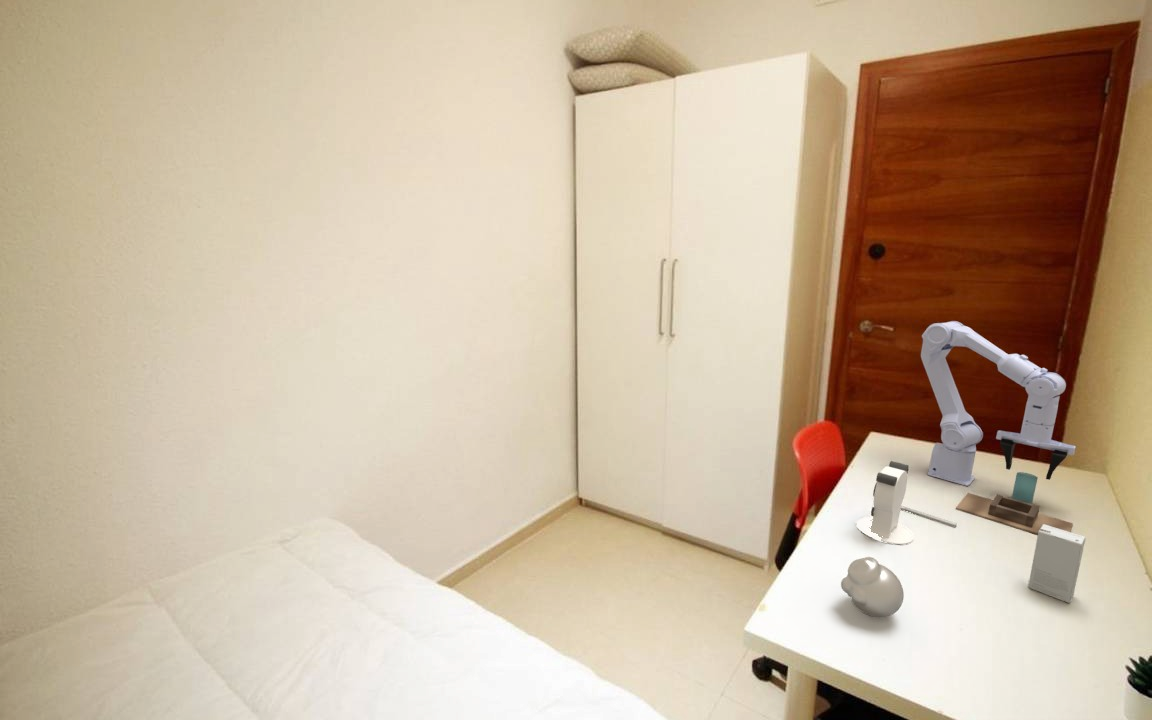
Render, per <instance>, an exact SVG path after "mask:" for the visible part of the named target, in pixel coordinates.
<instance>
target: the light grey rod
mask: <svg viewBox="0 0 1152 720" xmlns="http://www.w3.org/2000/svg"><path fill="white" fill-rule="evenodd" d="M903 510H905V511H904V512H906V511H908V512H907V513H909V512H911V513H910V514H912V513H913V514H912V515H915V514H916V515H915V516H917V517H921V518H924V519H927V520H930V521H934V522H935V523H940V524H942V525H945V526H949V527H952V528H954V529H955V528H956V527H957V522H953V521H950V520H949V519H945V518H941V517H939V516H935V515H932V514H929V513H926V512H922V511H919V510H916V509H913V508H910V507H907V506H903V505H901V510H900V511H903Z"/></svg>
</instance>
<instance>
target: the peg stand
mask: <svg viewBox="0 0 1152 720" xmlns="http://www.w3.org/2000/svg"><path fill="white" fill-rule="evenodd" d="M955 510H957V511H960V512H962V513H963V512H964V513H966V514H970V515H973V516H976V517H980V518H982V519H986V520H989V521H992V522H995V523H999V524H1002V525H1005V526H1008V527H1010V528H1014V529H1017V530H1021V531H1024V532H1028V533H1030V534H1033V535H1036V536H1038V531H1039V530H1040V528H1041V527H1042V525H1043V524H1045V525H1048V526H1051V527H1055V528H1058V529H1061V530H1064V531H1068V532H1072V531H1071V530H1072V528H1073V522H1070V521H1066V520H1063V519H1060V518H1056V517H1053V516H1049V515H1047V514H1042V513H1040V512H1039V511H1040V505H1037V504H1034V503H1032V504H1030V503H1027V502H1023V501H1020V500H1016V499H1013V498H1012V497H1008V496H1006V495H1001V494H998V493H997V494H996V495H995V497H994V498H993V499H991V498H987V497H984V496H980V495H978V494H974V493H970V492H967V493H966V494H965V496H963V498H962V499H961V500H960V502H959V503H958V504H957V505H956V507H955Z"/></svg>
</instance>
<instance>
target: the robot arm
mask: <svg viewBox="0 0 1152 720" xmlns="http://www.w3.org/2000/svg"><path fill="white" fill-rule="evenodd" d="M925 329H926V330H924V332H923V333H922V335H921V338H922V345H921V350H920V351H921V352H920V358H921V361H922V364H923V367H924V369H925V373H926V374H927V377H928V380H929V383H930V386H931V388H932V391H933V393H934V394H933V395H934V396H935V399H936V402H937V404H938V407H939V410H940V413H941V415H942V416H941V417H942V418H941V421H940V424H939V426H940V429H941V434H940V439H941V442H942V443H941V442H936V443H934V445H933V448H932V451H931V457H930V461H929V462H930V463H929V467H928V468H929V469H928V472H927V475H928V476H930V477H934V478H938V479H941V480H945V481H948V482H952V483H955V484H959V485H963V486H966V487H969V486H970V484H971V483H972V482H973V481H974V480H975V479H976V476H974V475H973V469H974V463H975V457H976V453H977V447H976V445H977V444H979V443H980V442H981V441H982V439H983V437H984V432H983V431H982V429H981V427H980V426H979V425H978V424H977V423H976V422H975V420H974V417H973V416H972V415H970V414H969V413H968V412H967V411H966V409H965V407H964V404H963V400H962V398H961V396H960V393H959V390H958V387H957V386H956V383H955V380H954V377H953V374H952V372H951V370H950V367H949V364H948V362H947V359H946V358H947V356H948V355H949V353H950V352H951V350H952V349H953V348H954V347H964V348H965V347H966V348H968V349H970V350H972V351H973V352H974V353H975V352H976V353H977V354H979V355H980V356H982V357H984V358H986V359H988V360H989V361H991V362H993V363H995V364H996V365H997V371H998V372H1000V373H1001V374H1003V376H1006V377H1007V378H1009V379H1010V380H1011V381H1014V382H1015V383H1016V384H1019V385H1020V386H1021V387H1023V388H1025V391H1026V393H1027V396H1028V397H1027V401H1026V404H1025V410H1024V415H1023V420H1022V424H1021V430H1020V433H1019V432H1012V431H1005V430H997V432H996V437H995V439H996V440H1000V442H999V443H1000V447H1001V450H1002V452H1003V455H1004V459H1005V469H1006V470H1009V471H1010V469H1012V463H1013V456H1014V451H1015V446H1016V444H1022V445H1026V446H1030V447H1031V446H1032V447H1036V448H1038V449H1039V448H1040V449H1043V450H1044V449H1045V450H1049V451H1052V453H1051V455H1050V456H1051V457H1050V462H1049V465H1048V466H1049V467H1048V470H1047V473H1046V476H1045V480H1051V479H1052V475H1053V473H1054V472H1055V470H1056V469H1057V467H1058V466H1060V464H1061V463H1062V462H1063V461H1064V460H1066V458H1067V456H1068V455H1069V456H1074V455H1075V451H1076V447H1077V446H1075V445H1073V444H1068V443H1064V442H1061V441H1057V440H1053V439H1052V438H1053V433H1054V427H1055V423H1056V418H1057V414H1058V409H1059V408H1058V407H1059V401H1060V397H1061V396H1060V395H1061V394H1063V393H1064V392H1065V390H1066V387H1067V383H1066V380H1065V378H1063V377H1062V376H1061V375H1060V374H1058V373H1056V372H1050V371H1048V369H1047V368H1045V367H1042V368H1041V367H1040V366H1038V365H1037V364H1035V363H1034V362H1032V361H1030V360H1029V357H1028V355H1025V354H1021V355H1020V354H1018V353H1010V354H1008V353H1006V352H1005V351H1004V350H1003V349H1001V348H999V347H998V346H996V345H995V344H993V343H992V342H990V341H989V340H987V339H986V338H984V337H983V336H982V335H980V334H979V333H978V332H976V331H974V330H973V328H971V327H969V326H966V325H964V324H963V323H961V322H959V321H956V320H951V321H947V322H937V323H931V324H930V325H929V326H928V327H927V328H925Z"/></svg>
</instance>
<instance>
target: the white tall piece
mask: <svg viewBox="0 0 1152 720" xmlns="http://www.w3.org/2000/svg"><path fill="white" fill-rule="evenodd" d="M909 468H910V467H909V464H904V463H901V462H897V461H892V460H890V461H889V464H888V465H887V466H886V465H885V467H883V469H881V471H880V472H877V474H876V478H875V479H876V480H875V481H876V482H875V483H874V489H873V506H872V507H871V511H870V517H873V519H872V520H873V521H872V520H870V521H872V526H871V528H870V527H869V528H870V529H871V532H873V533H876V534H878V536H879V537H881V538H882V539H881V541H883V542H887V543H893V544H906V545H909V544H908V543H910V544H911V542H912V541H913V540H915V535H914V533H913V531H912V530H911V529H910V528H908V527H906V526H905V525H903V524H901V523H900V522H899V519H900V513H901V510H900V509H901V506H902V504H903V501H904V498H905V495H906V491H907V484H908V473H909ZM891 533H892V534H891ZM893 534H894V535H893ZM882 536H883V537H882ZM883 542H882V543H883ZM913 542H914V541H913ZM913 542H912V543H913ZM887 543H886V544H887ZM893 544H892V545H893Z"/></svg>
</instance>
